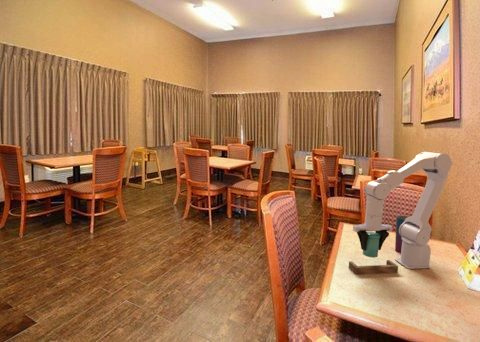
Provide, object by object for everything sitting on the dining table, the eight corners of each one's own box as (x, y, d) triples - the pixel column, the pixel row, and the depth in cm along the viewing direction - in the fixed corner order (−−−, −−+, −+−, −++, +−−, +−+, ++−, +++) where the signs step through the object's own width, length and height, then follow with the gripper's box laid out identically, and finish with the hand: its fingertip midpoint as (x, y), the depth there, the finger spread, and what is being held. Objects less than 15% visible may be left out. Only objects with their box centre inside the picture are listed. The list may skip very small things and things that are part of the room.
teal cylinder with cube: (369, 248, 116) (371, 229, 115) (381, 257, 108) (383, 236, 107) (355, 249, 116) (357, 229, 114) (367, 258, 108) (369, 237, 107)
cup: (413, 255, 123) (417, 220, 121) (395, 253, 125) (399, 219, 123) (407, 248, 130) (411, 216, 128) (390, 247, 131) (394, 214, 129)
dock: (388, 266, 113) (389, 260, 112) (397, 272, 108) (398, 266, 107) (348, 267, 110) (349, 261, 110) (355, 274, 106) (356, 267, 105)
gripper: (385, 210, 113) (382, 244, 115) (350, 211, 112) (347, 245, 113) (397, 216, 107) (393, 252, 108) (359, 217, 105) (356, 253, 107)
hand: (370, 249), depth 111 cm, fingers closed on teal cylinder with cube, 5 cm apart
